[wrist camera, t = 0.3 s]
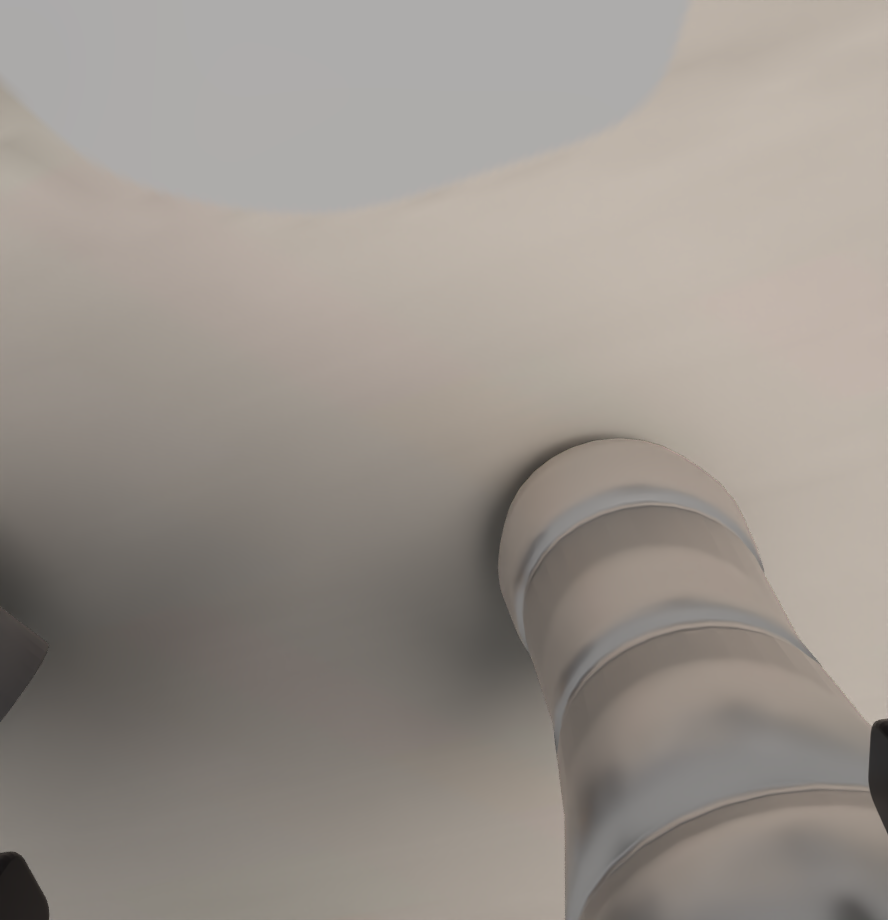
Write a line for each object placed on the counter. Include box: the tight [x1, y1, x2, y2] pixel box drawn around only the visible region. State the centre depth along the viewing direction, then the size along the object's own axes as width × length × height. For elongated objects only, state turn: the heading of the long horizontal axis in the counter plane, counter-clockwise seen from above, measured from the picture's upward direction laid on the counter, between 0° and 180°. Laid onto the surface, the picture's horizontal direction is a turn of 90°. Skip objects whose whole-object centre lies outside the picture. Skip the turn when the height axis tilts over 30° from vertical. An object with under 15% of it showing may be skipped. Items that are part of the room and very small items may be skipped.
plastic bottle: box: [498, 438, 888, 920], centre depth 15 cm, size 6×7×20 cm
